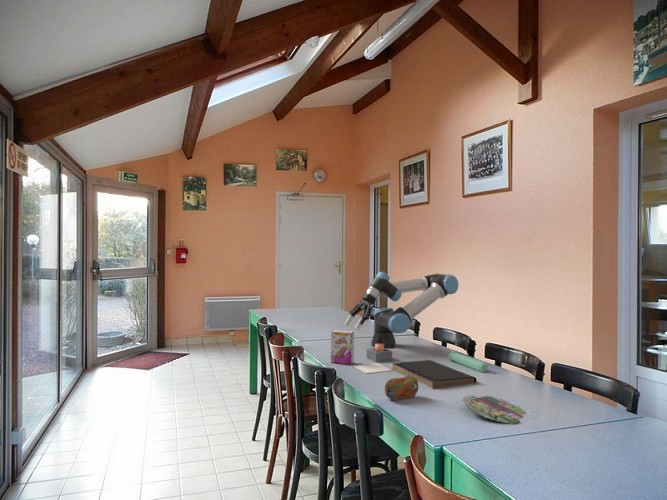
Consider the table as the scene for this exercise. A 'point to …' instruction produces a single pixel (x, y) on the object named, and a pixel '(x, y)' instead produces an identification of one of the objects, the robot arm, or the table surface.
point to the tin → (401, 388)
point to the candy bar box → (342, 347)
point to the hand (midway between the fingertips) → (351, 327)
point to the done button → (379, 347)
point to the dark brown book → (433, 373)
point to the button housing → (379, 355)
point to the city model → (494, 408)
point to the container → (467, 361)
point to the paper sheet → (372, 368)
